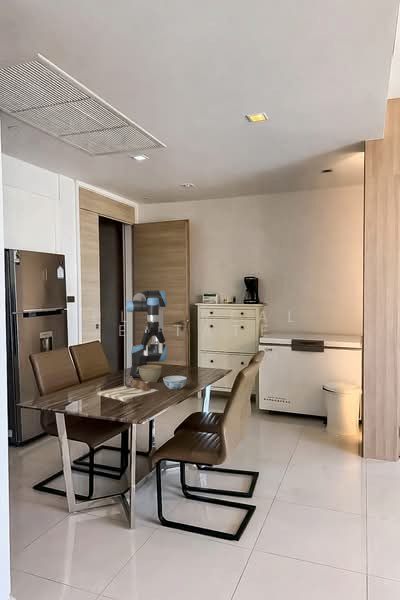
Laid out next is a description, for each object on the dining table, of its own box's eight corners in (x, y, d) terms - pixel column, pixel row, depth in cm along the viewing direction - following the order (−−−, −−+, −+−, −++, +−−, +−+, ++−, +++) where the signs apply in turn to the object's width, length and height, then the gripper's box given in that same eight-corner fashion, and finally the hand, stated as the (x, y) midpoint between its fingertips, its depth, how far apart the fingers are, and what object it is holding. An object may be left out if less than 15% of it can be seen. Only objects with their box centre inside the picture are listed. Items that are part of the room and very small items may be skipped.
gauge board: (96, 394, 252) (96, 392, 252) (130, 386, 273) (130, 384, 273) (126, 401, 235) (125, 398, 235) (159, 392, 256) (159, 390, 256)
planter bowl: (166, 380, 291) (165, 365, 291) (154, 385, 276) (153, 369, 276) (146, 379, 297) (146, 364, 297) (134, 383, 283) (133, 367, 283)
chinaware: (160, 392, 256) (160, 380, 256) (166, 387, 271) (166, 375, 271) (184, 393, 254) (184, 380, 254) (188, 387, 269) (188, 376, 269)
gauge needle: (124, 386, 265) (124, 377, 265) (130, 384, 269) (130, 376, 269) (145, 390, 253) (145, 381, 253) (150, 389, 257) (150, 380, 257)
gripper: (143, 322, 254) (143, 357, 254) (170, 320, 274) (170, 352, 274) (135, 322, 258) (135, 356, 259) (162, 320, 278) (162, 351, 278)
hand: (153, 354), depth 266 cm, fingers open, 13 cm apart
